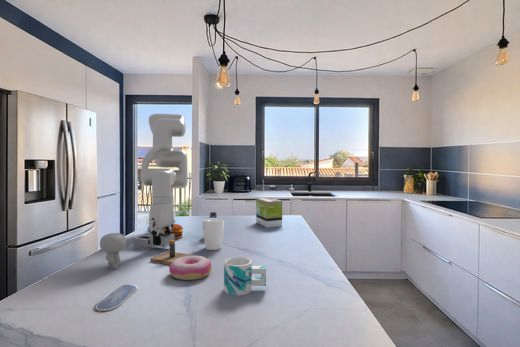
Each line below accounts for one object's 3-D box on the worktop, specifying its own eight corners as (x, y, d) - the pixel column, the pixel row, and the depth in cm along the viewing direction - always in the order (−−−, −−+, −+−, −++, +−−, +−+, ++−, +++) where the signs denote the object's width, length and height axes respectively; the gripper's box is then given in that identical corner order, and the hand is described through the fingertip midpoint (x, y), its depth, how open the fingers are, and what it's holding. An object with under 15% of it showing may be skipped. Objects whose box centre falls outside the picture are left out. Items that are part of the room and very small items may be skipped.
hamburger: (163, 241, 146) (163, 227, 146) (162, 236, 155) (161, 223, 155) (184, 239, 149) (184, 225, 149) (181, 235, 158) (181, 221, 158)
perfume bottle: (213, 239, 149) (213, 214, 148) (204, 237, 153) (203, 212, 152) (222, 237, 154) (222, 212, 153) (213, 235, 157) (213, 211, 157)
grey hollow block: (133, 247, 136) (133, 237, 136) (144, 243, 141) (144, 234, 141) (147, 249, 132) (147, 240, 132) (158, 246, 138) (158, 236, 138)
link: (149, 244, 133) (149, 235, 133) (160, 241, 138) (159, 231, 138) (164, 247, 129) (164, 237, 129) (174, 243, 135) (174, 234, 135)
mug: (226, 283, 97) (226, 256, 97) (265, 284, 97) (265, 256, 96) (222, 295, 89) (222, 265, 88) (266, 295, 89) (266, 266, 88)
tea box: (255, 222, 188) (255, 197, 187) (270, 221, 192) (270, 197, 192) (266, 228, 174) (266, 201, 174) (282, 226, 179) (283, 200, 178)
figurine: (130, 267, 111) (130, 233, 111) (110, 273, 105) (110, 237, 104) (116, 263, 115) (115, 230, 115) (96, 269, 109) (95, 234, 108)
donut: (169, 284, 97) (168, 268, 96) (169, 269, 109) (169, 255, 109) (213, 280, 100) (213, 264, 100) (209, 266, 113) (209, 252, 113)
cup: (220, 251, 130) (220, 222, 129) (199, 250, 132) (199, 221, 131) (226, 245, 139) (226, 218, 138) (207, 244, 141) (207, 217, 140)
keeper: (150, 261, 117) (150, 242, 117) (168, 254, 126) (168, 236, 126) (176, 266, 112) (176, 246, 112) (193, 258, 121) (193, 239, 121)
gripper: (168, 196, 142) (169, 236, 143) (139, 202, 126) (139, 247, 128) (182, 197, 139) (182, 238, 140) (153, 204, 123) (154, 249, 124)
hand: (162, 242), depth 134 cm, fingers closed on link, 6 cm apart
